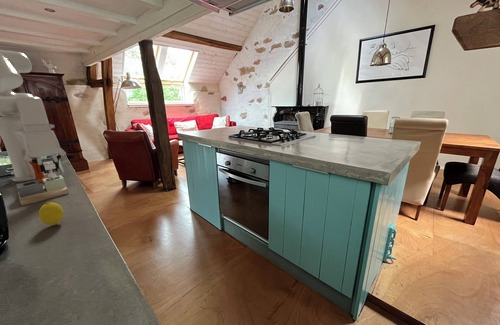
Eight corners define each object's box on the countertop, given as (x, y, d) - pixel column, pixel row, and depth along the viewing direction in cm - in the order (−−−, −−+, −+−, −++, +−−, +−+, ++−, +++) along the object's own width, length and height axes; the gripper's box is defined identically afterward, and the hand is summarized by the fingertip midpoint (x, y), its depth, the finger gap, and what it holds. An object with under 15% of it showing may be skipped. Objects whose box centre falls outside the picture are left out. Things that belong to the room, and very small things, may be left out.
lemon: (69, 218, 71) (62, 197, 69) (62, 227, 66) (54, 204, 64) (48, 222, 69) (41, 200, 67) (39, 231, 64) (31, 208, 62)
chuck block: (19, 193, 87) (16, 184, 86) (42, 187, 92) (40, 179, 91) (20, 198, 83) (17, 188, 82) (44, 192, 88) (42, 183, 87)
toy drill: (35, 188, 93) (24, 155, 90) (35, 183, 106) (25, 153, 103) (50, 185, 96) (39, 152, 93) (48, 180, 110) (39, 151, 107)
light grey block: (48, 184, 94) (42, 162, 91) (58, 182, 96) (52, 160, 93) (51, 188, 89) (44, 165, 86) (61, 185, 91) (54, 163, 88)
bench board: (19, 195, 90) (17, 191, 89) (62, 185, 100) (61, 181, 99) (21, 205, 81) (19, 201, 80) (68, 193, 91) (67, 189, 90)
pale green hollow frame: (45, 187, 93) (42, 179, 91) (63, 183, 97) (61, 175, 96) (47, 191, 89) (44, 182, 87) (66, 186, 93) (63, 178, 92)
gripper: (62, 125, 94) (73, 165, 99) (7, 130, 82) (23, 175, 87) (65, 127, 89) (76, 168, 94) (7, 132, 77) (24, 179, 83)
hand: (50, 171), depth 91 cm, fingers closed on light grey block, 3 cm apart
